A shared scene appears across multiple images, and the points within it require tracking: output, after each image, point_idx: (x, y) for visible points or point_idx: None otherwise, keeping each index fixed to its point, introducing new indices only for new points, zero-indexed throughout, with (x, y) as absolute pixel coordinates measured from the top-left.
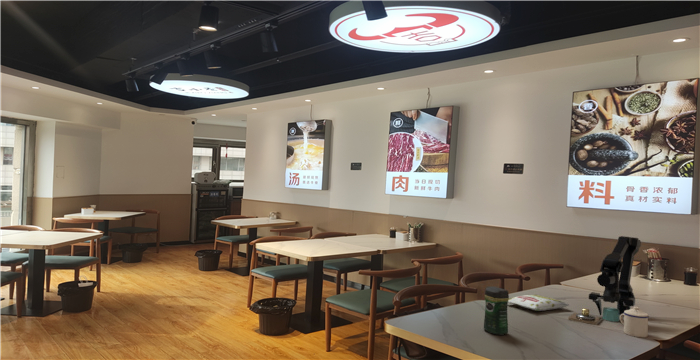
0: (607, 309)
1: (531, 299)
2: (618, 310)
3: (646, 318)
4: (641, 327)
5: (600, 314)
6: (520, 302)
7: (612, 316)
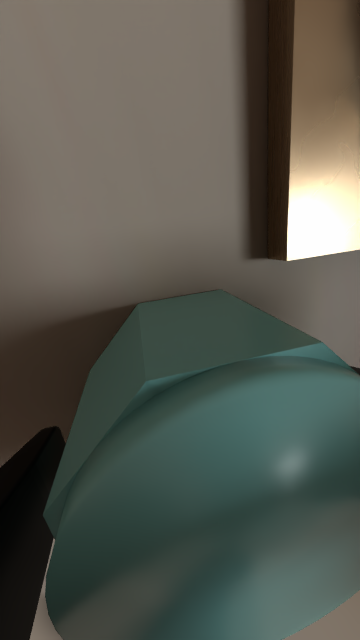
0: (345, 416)
1: None
2: (51, 604)
3: None
4: None
5: None
6: None
7: (152, 329)
